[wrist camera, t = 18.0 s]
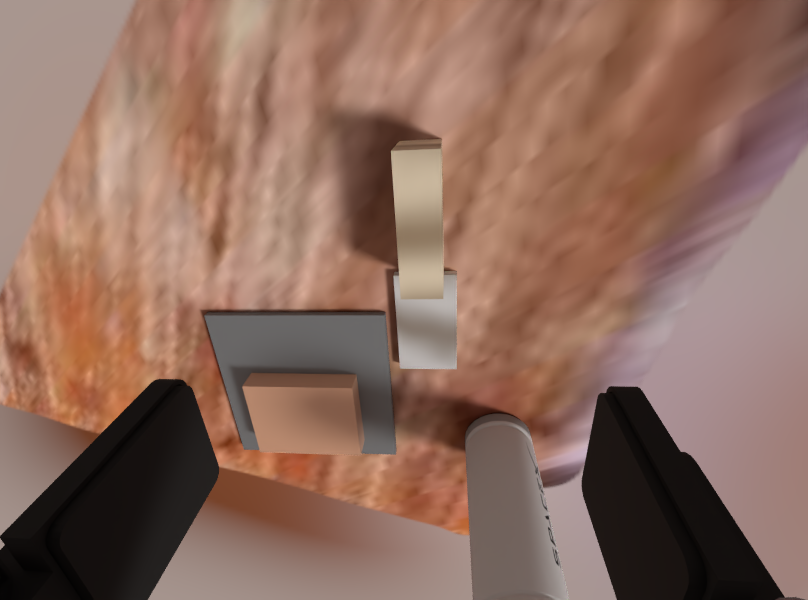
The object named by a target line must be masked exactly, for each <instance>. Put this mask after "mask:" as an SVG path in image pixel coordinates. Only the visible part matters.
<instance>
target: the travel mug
mask: <svg viewBox="0 0 808 600" xmlns="http://www.w3.org/2000/svg"><path fill="white" fill-rule="evenodd" d="M465 450H466V470H467V490H468V510H469V531H470V549H471V550H470V551H471V570H472V590H473V600H569V596H568V592H567V588H566V583H565V579H564V575H563V570H562V566H561V562H560V558H559V553H558V549H557V545H556V541H555V537H554V532H553V528H552V524H551V520H550V515H549V511H548V507H547V503H546V498H545V494H544V490H543V486H542V482H541V477H540V473H539V469H538V465H537V460H536V456H535V452H534V448H533V444H532V439H531V435H530V431H529V429H528V427H527V426H526V425H525V424H524V423H523V422H522V421H521V420H519V419H517V418H516V417H514V416H511V415H507V414H489V415H485V416H482V417H480V418H478V419H477V420H475V421H474V422H473V423H472V424H471V425H470V426H469V427H468V429H467V431H466V434H465Z"/></svg>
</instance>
